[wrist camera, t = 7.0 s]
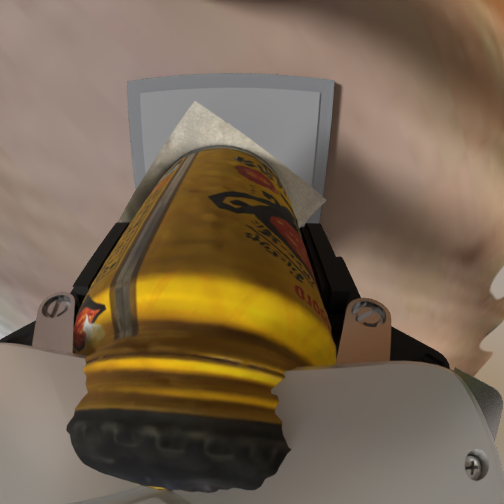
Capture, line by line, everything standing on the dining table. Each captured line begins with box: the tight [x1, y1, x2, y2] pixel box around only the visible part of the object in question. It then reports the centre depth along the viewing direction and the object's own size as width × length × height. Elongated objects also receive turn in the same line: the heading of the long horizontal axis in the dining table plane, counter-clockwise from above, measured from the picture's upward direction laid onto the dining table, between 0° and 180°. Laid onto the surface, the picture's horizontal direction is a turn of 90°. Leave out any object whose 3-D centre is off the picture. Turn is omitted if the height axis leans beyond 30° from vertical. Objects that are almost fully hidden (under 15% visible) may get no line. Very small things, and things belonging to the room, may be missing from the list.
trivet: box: [127, 73, 334, 229], centre depth 21 cm, size 14×14×1 cm
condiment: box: [66, 101, 336, 493], centre depth 9 cm, size 7×8×12 cm
